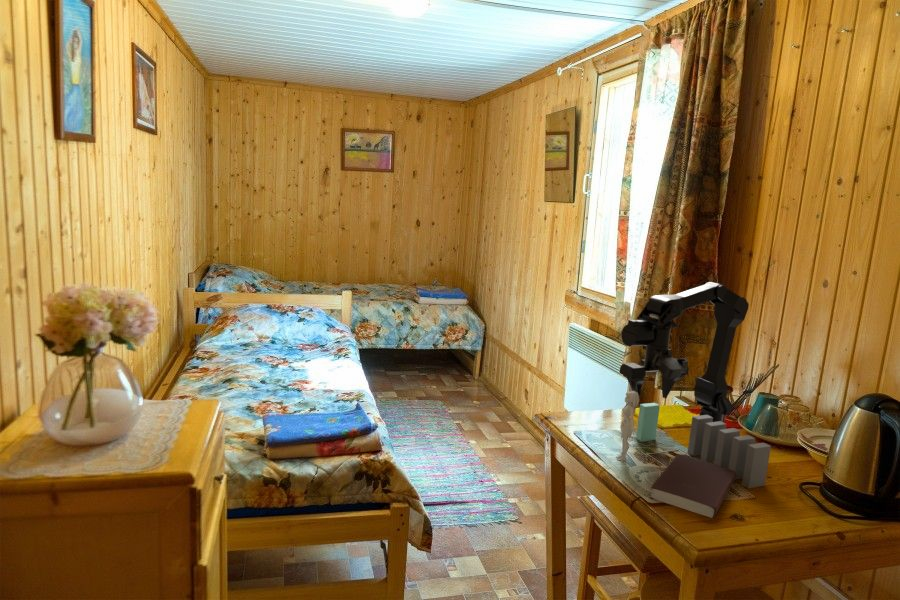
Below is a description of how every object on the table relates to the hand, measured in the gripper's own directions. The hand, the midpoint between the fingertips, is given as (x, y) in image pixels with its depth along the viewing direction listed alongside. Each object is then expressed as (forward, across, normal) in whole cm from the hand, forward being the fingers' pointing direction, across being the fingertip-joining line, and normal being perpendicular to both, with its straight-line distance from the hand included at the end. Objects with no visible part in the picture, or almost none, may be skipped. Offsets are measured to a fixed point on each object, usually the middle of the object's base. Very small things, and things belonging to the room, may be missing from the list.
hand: (650, 399), depth 169 cm
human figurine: (+12, -14, -9) cm, 20 cm away
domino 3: (+12, +8, -20) cm, 24 cm away
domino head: (+12, 0, 0) cm, 12 cm away
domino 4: (+12, +8, -24) cm, 28 cm away
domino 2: (+12, +8, -16) cm, 21 cm away
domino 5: (+12, +8, -29) cm, 32 cm away
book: (+12, -8, -27) cm, 31 cm away
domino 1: (+12, +8, -11) cm, 18 cm away
